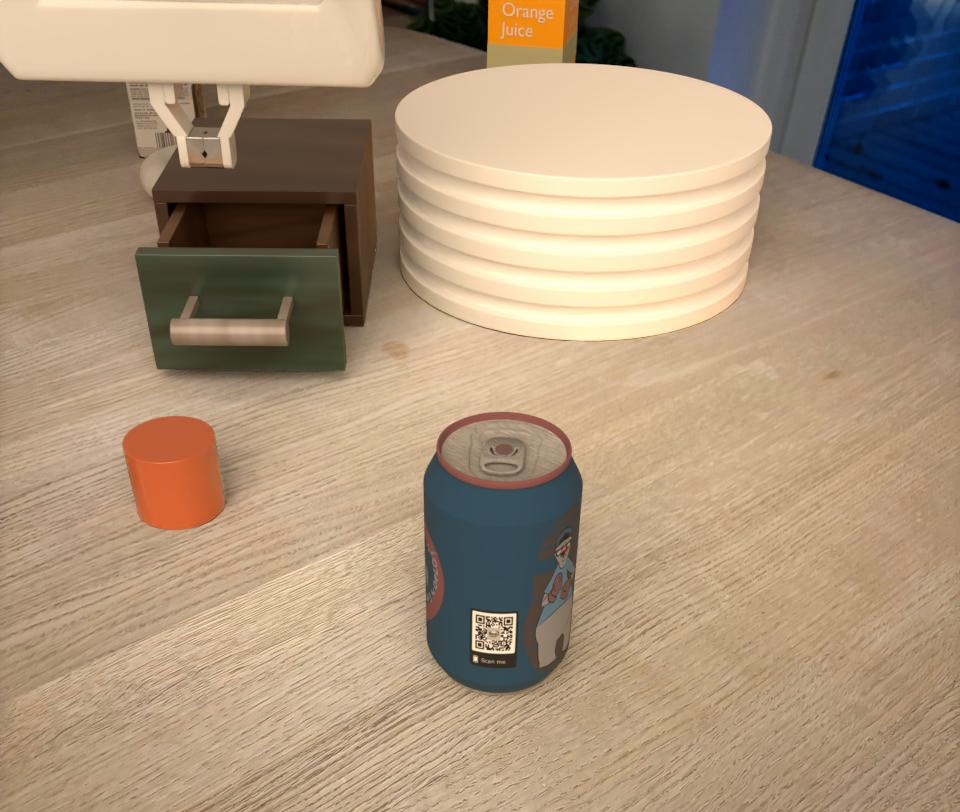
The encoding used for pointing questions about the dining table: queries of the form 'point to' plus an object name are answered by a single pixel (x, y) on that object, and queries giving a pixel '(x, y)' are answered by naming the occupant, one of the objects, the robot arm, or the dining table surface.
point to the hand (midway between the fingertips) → (209, 165)
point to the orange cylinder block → (174, 472)
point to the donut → (154, 167)
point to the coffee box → (148, 121)
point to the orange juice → (531, 32)
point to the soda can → (500, 550)
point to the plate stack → (578, 198)
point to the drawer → (247, 287)
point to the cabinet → (291, 182)
